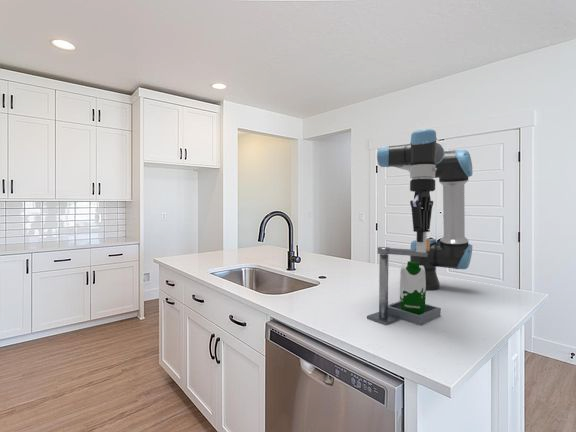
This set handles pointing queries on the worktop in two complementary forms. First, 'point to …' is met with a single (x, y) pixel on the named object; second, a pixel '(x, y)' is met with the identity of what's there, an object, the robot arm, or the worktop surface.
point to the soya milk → (413, 288)
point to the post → (383, 295)
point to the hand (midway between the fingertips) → (421, 251)
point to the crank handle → (404, 251)
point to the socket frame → (428, 314)
